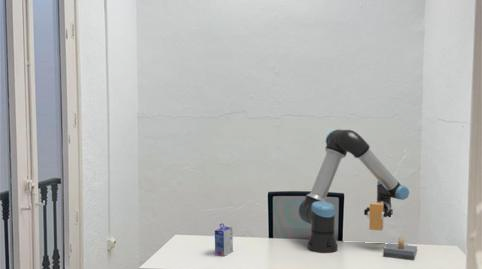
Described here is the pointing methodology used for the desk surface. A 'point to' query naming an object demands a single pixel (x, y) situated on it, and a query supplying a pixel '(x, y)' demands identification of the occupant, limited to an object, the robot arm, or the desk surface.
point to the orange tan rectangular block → (376, 216)
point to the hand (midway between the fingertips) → (375, 215)
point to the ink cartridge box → (223, 240)
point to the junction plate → (400, 250)
